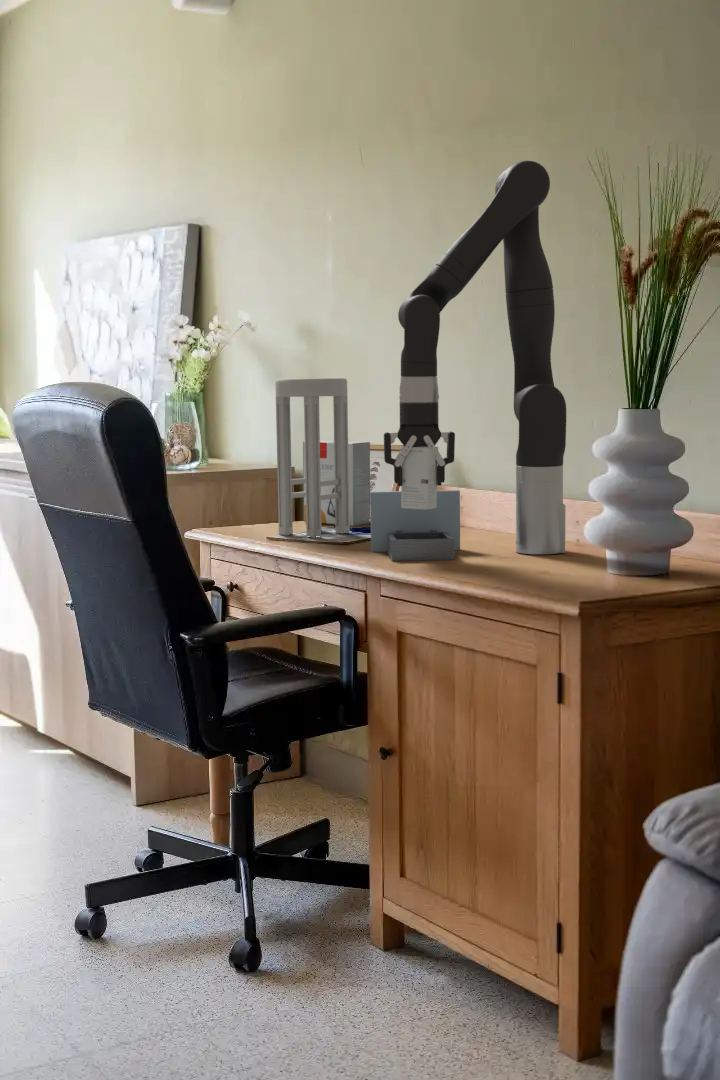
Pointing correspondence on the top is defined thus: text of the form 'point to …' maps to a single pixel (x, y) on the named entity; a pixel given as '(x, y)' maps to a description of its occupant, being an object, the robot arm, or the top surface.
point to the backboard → (413, 517)
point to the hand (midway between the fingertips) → (419, 485)
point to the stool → (312, 453)
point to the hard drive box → (357, 481)
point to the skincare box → (419, 479)
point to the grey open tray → (420, 546)
